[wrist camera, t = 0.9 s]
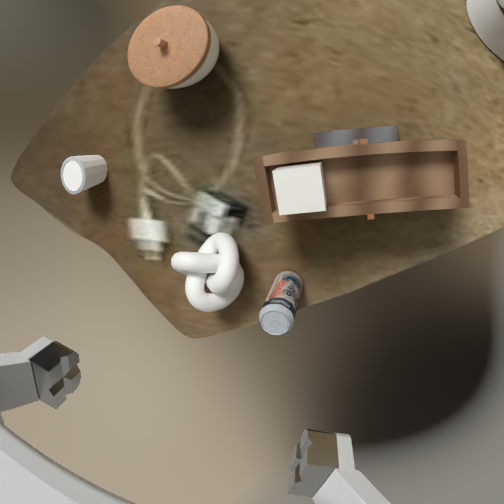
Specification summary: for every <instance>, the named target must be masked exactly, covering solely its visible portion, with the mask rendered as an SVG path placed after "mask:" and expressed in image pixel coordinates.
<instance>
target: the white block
mask: <svg viewBox="0 0 504 504" xmlns="http://www.w3.org/2000/svg"><path fill="white" fill-rule="evenodd" d="M272 173H273V179H274V185H275V191H276V197H277V204H278V210H279V215H288V214H298V213H308V212H319V211H326V206H327V196H326V188H325V180H324V173H323V166H322V161H321V162H312V163H304V164H296V165H288V166H280V167H279V168H277V169H275V170H273V171H272Z"/></svg>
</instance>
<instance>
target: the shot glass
mask: <svg viewBox="0 0 504 504" xmlns="http://www.w3.org/2000/svg"><path fill="white" fill-rule="evenodd" d="M106 176H107V164H106V162H105V160H104V159H103V158H102V157H101V156H99V155H86V156H71V157H69V158H67V159H66V160H65V161H64V162H63V165H62V168H61V180H62V184H63V186H64V188H65V189H66V190H67V191H68V192H69V193H71V194H77V193H80V192H82V191H84V190H86V189H89V188H91V187H93V186H95V185H97V184H99V183H102V182H103V181H104V180H105V178H106Z"/></svg>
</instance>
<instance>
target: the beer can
mask: <svg viewBox="0 0 504 504" xmlns="http://www.w3.org/2000/svg"><path fill="white" fill-rule="evenodd" d="M302 288H303V282H302V279H301V278H300V276H299V275H298V274H296V273H295V272H292V271H283V272H281V273H279V274H278V275H277V276H276V277H275V280H274V283H273V285H272V287H271V289H270V292H269V294H268V296H267V298H266V301H265V303H264V305H263V307H262V309H261V311H260V314H259V321H260V323H261V325H262V327H263V330H265V331H266V332H268V333H269V334H272V335H281V334H283V333H285V332H287V331H289V330H290V329H291V328H292V326H293V324H294V319H295V314H296V311H297V307H298V303H299V299H300V295H301V291H302Z"/></svg>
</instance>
